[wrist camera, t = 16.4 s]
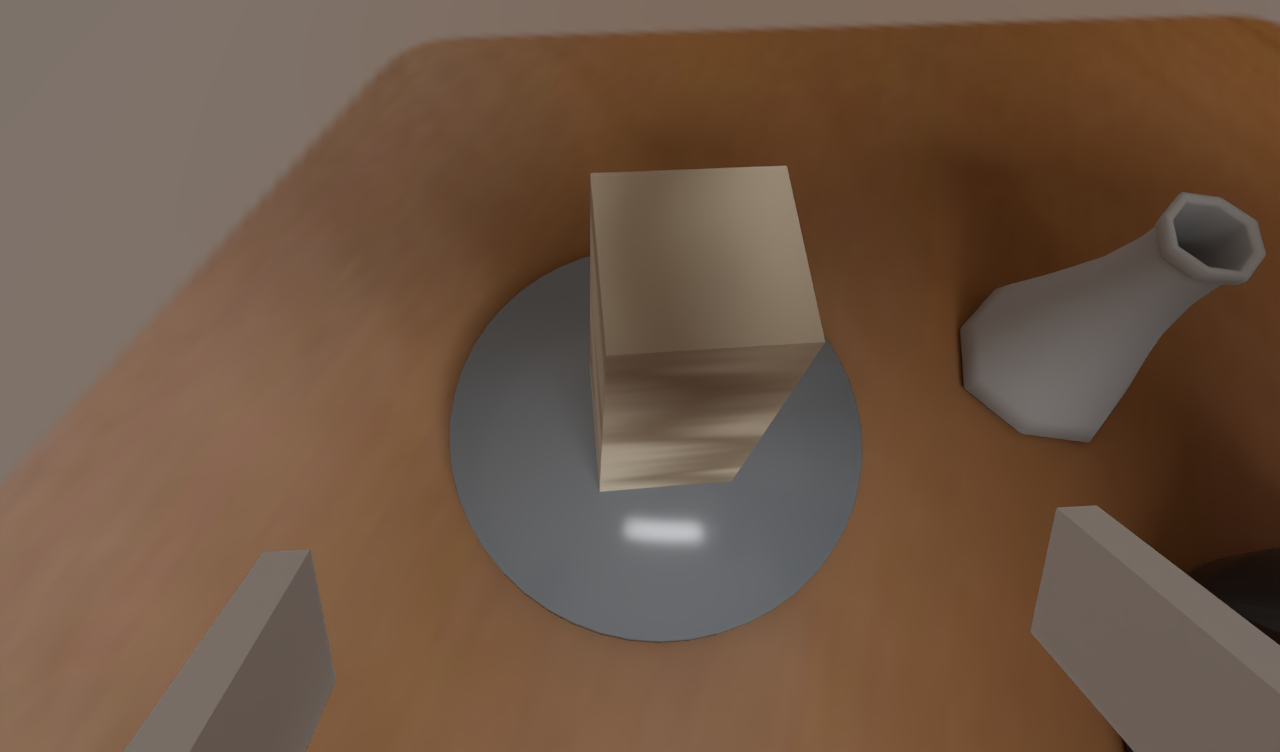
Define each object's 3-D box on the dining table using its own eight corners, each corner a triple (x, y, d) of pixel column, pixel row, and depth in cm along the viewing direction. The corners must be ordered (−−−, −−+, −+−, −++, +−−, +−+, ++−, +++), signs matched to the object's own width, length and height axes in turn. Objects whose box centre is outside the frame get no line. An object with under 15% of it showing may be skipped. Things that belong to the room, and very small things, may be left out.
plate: (776, 232, 34) (782, 217, 33) (914, 578, 28) (927, 573, 27) (425, 301, 31) (420, 287, 30) (495, 697, 25) (491, 697, 24)
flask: (977, 269, 34) (1121, 111, 25) (1131, 333, 33) (1340, 194, 24) (935, 399, 31) (1080, 277, 22) (1102, 472, 30) (1325, 377, 21)
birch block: (713, 361, 30) (786, 165, 19) (731, 480, 28) (825, 342, 17) (590, 368, 29) (590, 173, 18) (599, 492, 27) (606, 355, 16)
